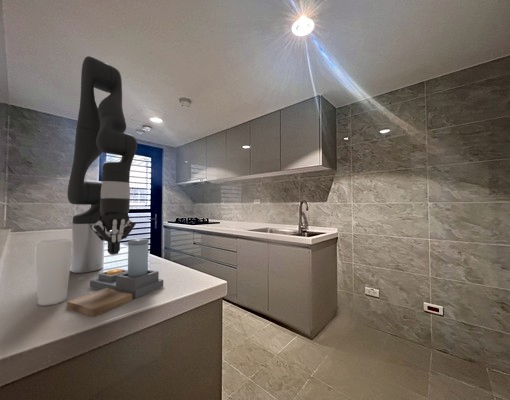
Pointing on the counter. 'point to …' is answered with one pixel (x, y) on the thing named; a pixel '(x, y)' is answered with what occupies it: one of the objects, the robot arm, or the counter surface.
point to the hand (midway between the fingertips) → (113, 254)
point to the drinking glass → (52, 270)
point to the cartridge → (137, 257)
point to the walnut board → (99, 301)
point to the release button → (114, 271)
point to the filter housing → (128, 283)
